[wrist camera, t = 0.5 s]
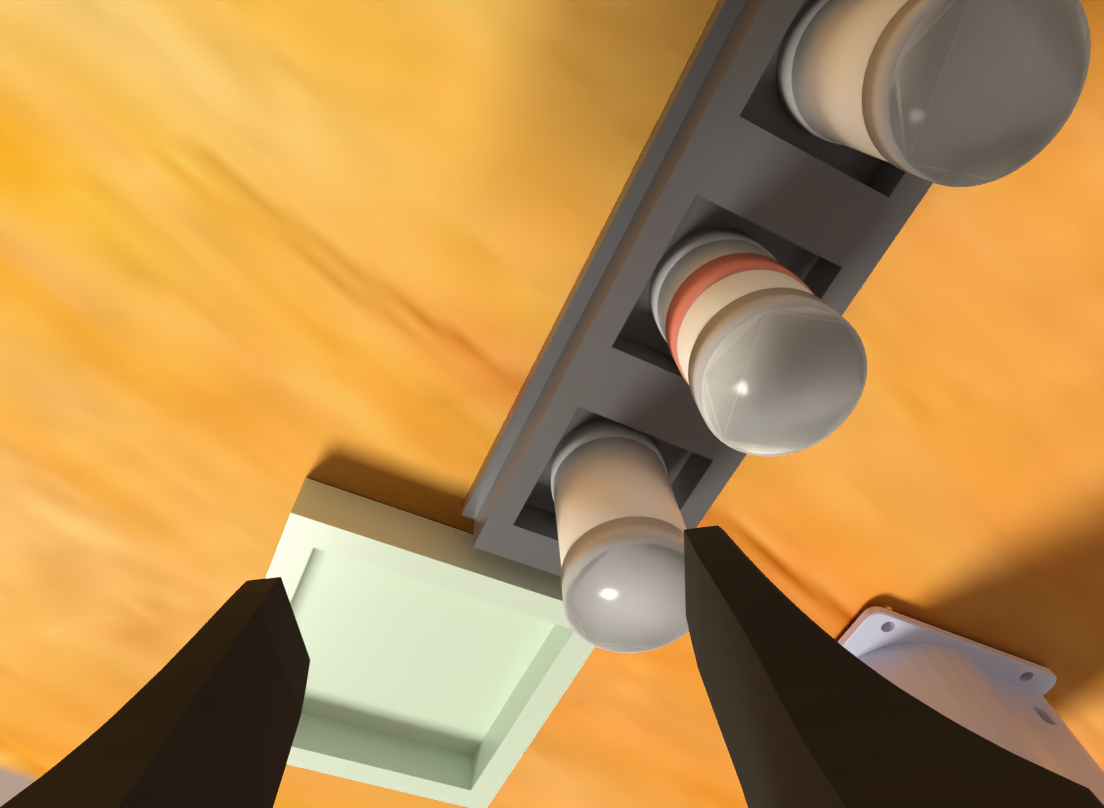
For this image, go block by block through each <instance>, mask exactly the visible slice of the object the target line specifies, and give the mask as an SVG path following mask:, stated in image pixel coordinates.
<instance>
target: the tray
mask: <svg viewBox="0 0 1104 808" xmlns="http://www.w3.org/2000/svg"><path fill="white" fill-rule="evenodd" d="M473 535H474V534H471V533H468V532H465V531H462V530H459V529H456V528H453V527H450V526H447V525H444V524H441V523H438V522H435V521H432V520H429V519H426V518H424V517H421V516H418V515H415V514H412V513H409V512H406V511H403V510H400V509H397V508H394V507H391V506H388V505H385V504H382V503H379V502H376V501H373V500H370V499H368V498H365V497H362V496H359V495H356V494H353V493H350V492H347V491H344V490H341V489H338V488H335V487H332V486H329V485H326V484H323V483H320V482H317V481H314V480H312V479H309V478H305V480H304V483H303V485H302V487H301V490H300V492H299V495H298V497H297V499H296V502H295V504H294V506H293V509H292V511H291V513H290V516H289V519H288V521H287V524H286V526H285V529H284V531H283V534H282V537H281V539H280V542H279V544H278V547H277V549H276V552H275V555H274V557H273V560H272V562H271V565H270V567H269V570H268V573H267V575H266V578H265V579H267V578H275V577H281V578H282V581H283V584H284V587H285V590H286V593H287V595H288V598H289V601H290V604H291V607H292V610H293V612H294V615H295V618H296V621H297V624H298V627H299V629H300V632H301V635H302V638H303V641H304V643H305V646H306V649H307V652H308V655H309V658H310V665H309V672H308V678H307V685H306V691H305V696H304V702H303V707H302V712H301V717H300V720H299V724H298V727H297V730H296V734H295V737H294V740H293V744H292V747H291V750H290V754H289V757H288V760H287V763H286V764H288V765H292V766H296V767H301V768H305V769H309V770H313V771H317V772H322V773H326V774H330V775H334V776H338V777H342V778H347V779H351V780H355V781H359V782H363V783H368V784H372V785H376V786H380V787H384V788H388V789H393V790H397V791H401V792H405V793H409V794H414V795H418V796H422V797H426V798H430V799H434V800H439V801H443V802H447V803H451V804H455V805H460V806H464V807H468V808H487V807H488V806H489V804H490V803H491V801H492V800H493V798H494V797H495V795H496V794H497V792H498V791H499V789H500V788H501V786H502V785H503V783H504V782H505V780H506V779H507V777H508V776H509V774H510V773H511V771H512V770H513V768H514V767H515V765H516V764H517V762H518V761H519V759H520V758H521V756H522V755H523V753H524V752H525V750H526V749H527V747H528V746H529V744H530V743H531V742H532V740H533V739H534V737H535V736H536V734H537V733H538V731H539V730H540V728H541V727H542V725H543V724H544V722H545V721H546V719H547V718H548V716H549V715H550V713H551V712H552V710H553V709H554V707H555V706H556V704H557V703H558V701H559V700H560V698H561V697H562V695H563V694H564V692H565V691H566V689H567V688H568V686H569V685H570V683H571V682H572V681H573V679H574V678H575V676H576V675H577V673H578V672H579V670H580V669H581V667H582V666H583V664H584V663H585V661H586V660H587V658H588V657H589V655H590V654H591V652H592V651H593V649H594V648H595V646H593V645H591V644H589V643H587V642H586V641H585V640H583V639H582V638H580V637H579V636H578V635H577V634H576V633H575V632H574V630H573V629H572V628H571V626H570V625H569V623H568V621H567V619H566V616H565V612H564V606H563V596H562V587H561V576H558V575H555V574H552V573H549V572H546V571H543V570H540V569H537V568H534V567H531V566H528V565H525V564H522V563H519V562H516V561H513V560H510V559H507V558H504V557H501V556H498V555H495V554H492V553H489V552H486V551H483V550H480V549H478V548H475V547H473Z"/></svg>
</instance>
